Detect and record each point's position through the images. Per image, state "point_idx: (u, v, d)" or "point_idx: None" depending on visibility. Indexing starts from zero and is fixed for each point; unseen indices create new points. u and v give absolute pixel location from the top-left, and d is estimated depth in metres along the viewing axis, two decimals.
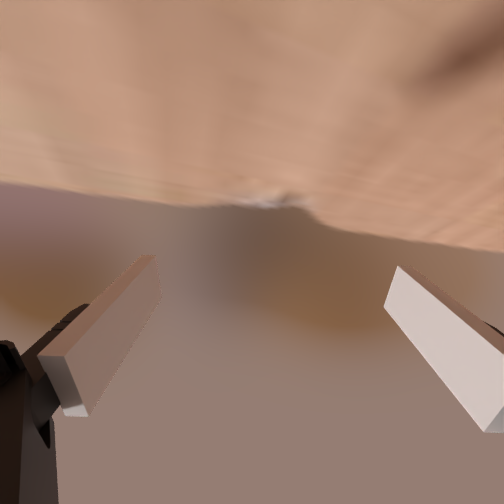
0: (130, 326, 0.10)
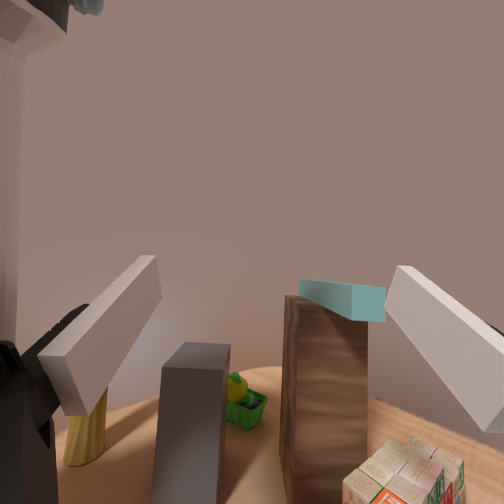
0: (130, 326, 0.10)
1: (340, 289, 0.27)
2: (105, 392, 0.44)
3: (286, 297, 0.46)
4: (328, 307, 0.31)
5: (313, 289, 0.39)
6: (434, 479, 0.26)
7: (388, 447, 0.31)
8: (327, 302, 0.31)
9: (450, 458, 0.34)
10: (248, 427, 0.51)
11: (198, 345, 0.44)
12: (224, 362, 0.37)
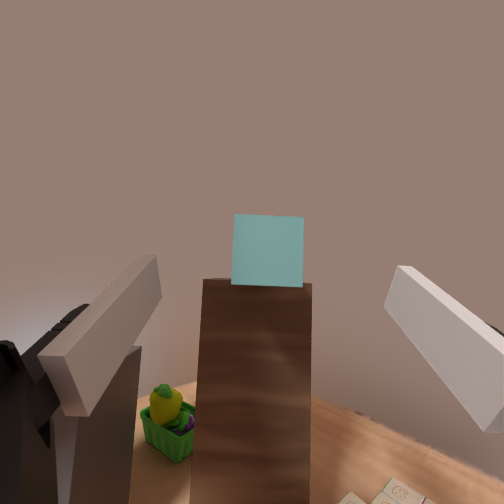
0: (130, 326, 0.10)
1: None
2: None
3: None
4: None
5: None
6: None
7: None
8: None
9: None
10: (177, 459, 0.37)
11: None
12: None
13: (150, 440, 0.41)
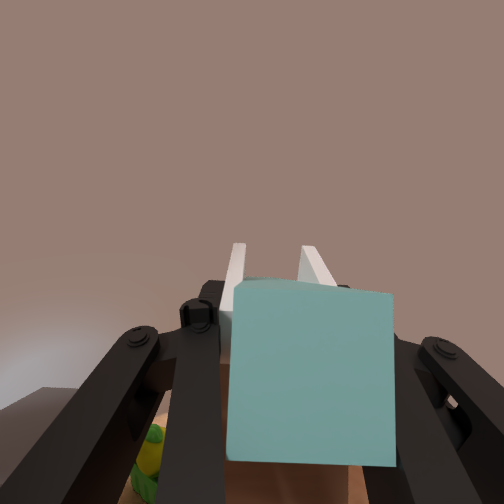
0: None
1: None
2: None
3: None
4: None
5: None
6: None
7: None
8: None
9: None
10: None
11: (58, 394, 0.25)
12: None
13: (137, 489, 0.35)
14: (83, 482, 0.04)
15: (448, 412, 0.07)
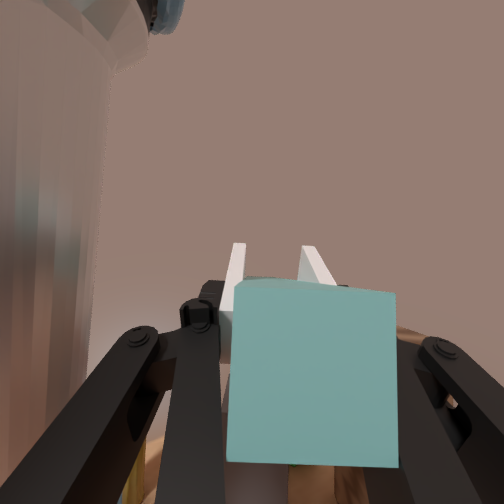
0: None
1: None
2: None
3: None
4: None
5: None
6: None
7: None
8: None
9: None
10: None
11: None
12: None
13: None
14: (83, 482, 0.04)
15: (448, 412, 0.07)
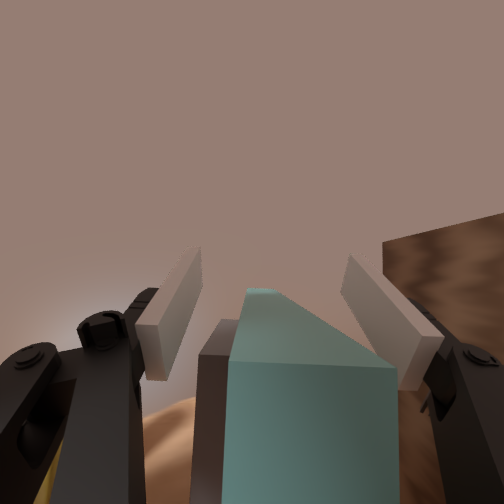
0: (187, 308, 0.11)
1: None
2: None
3: (392, 242, 0.27)
4: None
5: None
6: None
7: None
8: None
9: None
10: None
11: None
12: None
13: None
14: None
15: None
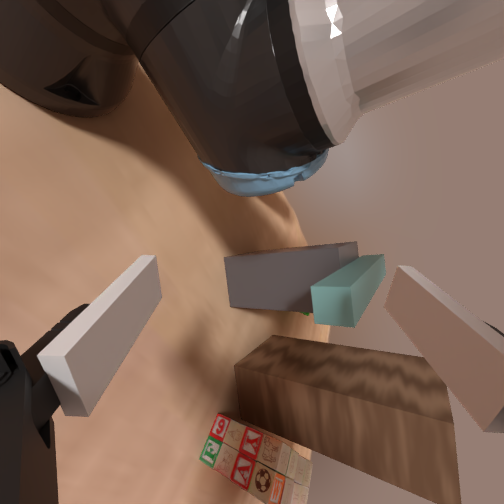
0: (130, 326, 0.10)
1: (350, 279, 0.22)
2: None
3: None
4: (334, 273, 0.27)
5: (363, 263, 0.32)
6: None
7: (306, 465, 0.36)
8: (341, 272, 0.27)
9: None
10: None
11: None
12: None
13: None
14: None
15: None
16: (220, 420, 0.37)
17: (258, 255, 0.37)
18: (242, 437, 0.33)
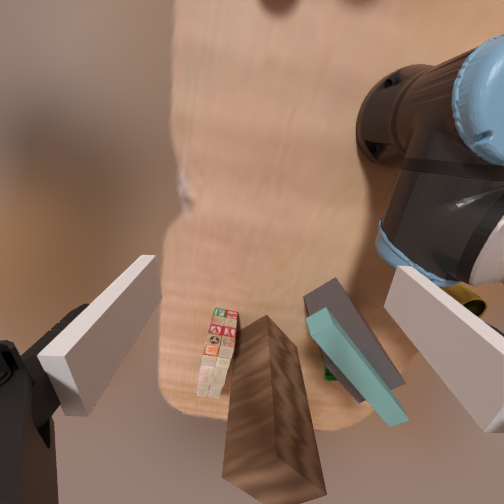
0: (130, 326, 0.10)
1: (342, 334, 0.32)
2: None
3: (320, 488, 0.37)
4: (349, 337, 0.36)
5: (376, 375, 0.37)
6: (200, 373, 0.52)
7: (222, 379, 0.53)
8: (351, 342, 0.36)
9: (201, 392, 0.59)
10: None
11: None
12: (334, 375, 0.40)
13: None
14: None
15: None
16: (235, 314, 0.59)
17: (346, 296, 0.48)
18: (230, 326, 0.54)
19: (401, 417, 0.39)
